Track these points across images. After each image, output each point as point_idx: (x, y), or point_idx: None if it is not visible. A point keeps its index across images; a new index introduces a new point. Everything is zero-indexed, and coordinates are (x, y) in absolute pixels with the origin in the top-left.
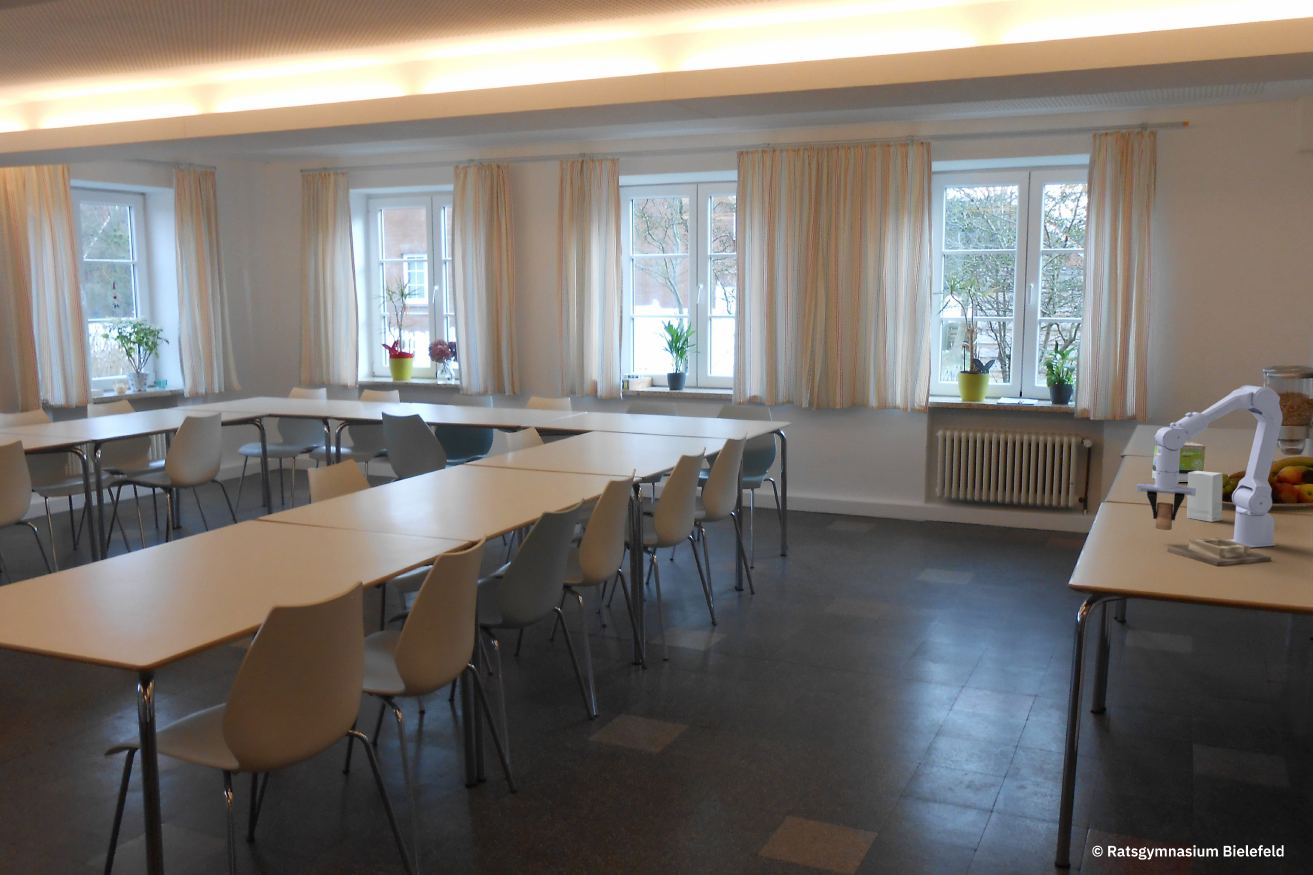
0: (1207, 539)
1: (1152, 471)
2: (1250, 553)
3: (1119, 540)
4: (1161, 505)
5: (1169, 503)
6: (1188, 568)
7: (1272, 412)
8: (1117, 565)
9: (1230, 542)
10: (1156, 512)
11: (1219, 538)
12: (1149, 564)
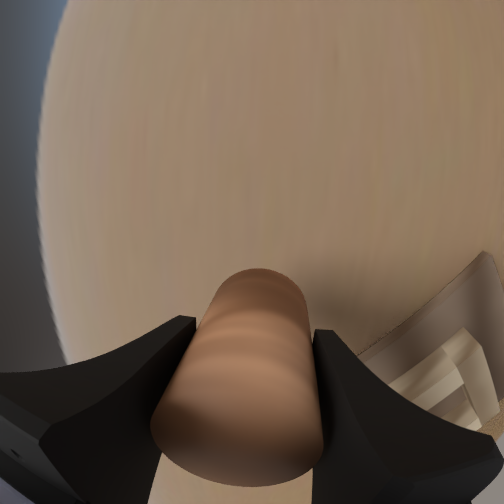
0: (425, 400)
1: None
2: (502, 371)
3: (100, 288)
4: (203, 470)
5: (286, 434)
6: (299, 500)
7: None
8: (168, 497)
9: (476, 401)
10: (181, 344)
11: (477, 359)
12: (222, 495)
